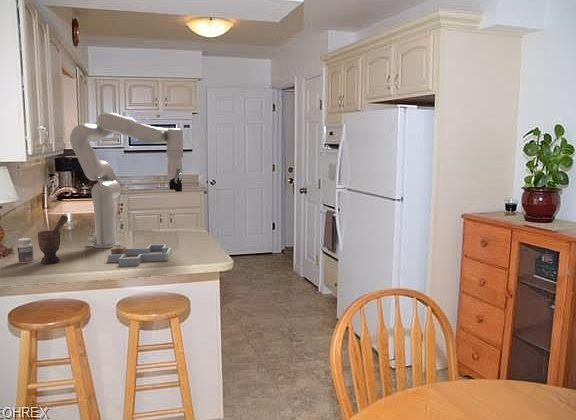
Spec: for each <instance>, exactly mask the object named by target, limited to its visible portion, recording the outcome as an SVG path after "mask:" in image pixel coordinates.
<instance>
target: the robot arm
mask: <svg viewBox="0 0 576 420" xmlns="http://www.w3.org/2000/svg"><path fill="white" fill-rule="evenodd" d="M115 133H116V134H119V135H123V136H126V137H128V138H132V139H136V140H138V141H141V142H145V143H150V144H154V145H156V144H166V158H167V166H166V167H167V168H166V169H167V171H166V172H167V173H166V176H167V178H168V181H169V183H168V185H169V190H170V191H174V192H176V193H177V192H178V193H179V192H183V161H182V159H183V158H184V139H183V138H184V135H183V133H184V132H183V129H181V128H179V127H178V128H176V127H173V128H172V127H170V128H164V127H157V126H151V125H148V124H143V123H141V122H138V121H137V120H136V119H134V118H131V117H127V116H124V115H120V114H118V113H116V112H109V111H105V112H102V113H100V114H99V115H98V117H97V121H96V122H95V123H85V122H84V123H80V124H77V125H76V126H74V127H73V129H72V130H71V133H70V135H69V136H70V137H69V140H70V141H69V142H70V145H71V149H72V150H73V152H74V154H75V156H76V158H77V160H78V163H79V164H80V167H81V168H82V171H83V173H84V175H85V177H86V178H87V179H88V180H90V181H97V182H96V183H95V184H94V185H93V186H92V189H91V190H90V191H91V192H90V193H91V199H92V205H93V211H94V213H93V214H94V227H95V228H94V232H95V237H87V238H86V243H92V247H93V248H95V249H109V248H110V249H112V248H113V247H115V246H121V243H120V241H117V224H116V223H117V222H116V208H115V203H114V199H117V198H119V196H120V195H121V192H122V187H121V184H120V182H119V179H118V178H117V175H116V173H115V171H114V169H113V166H111V164H110V163H109V162H107V161H105V160H101V159H99V158H98V156H97V154H96V151H95V149H94V147H92V145H91V143H90V142H99V141H102V140H103V139H106V138H107V137H108V136H111V135H112V134H115Z"/></svg>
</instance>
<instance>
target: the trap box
mask: <svg viewBox="0 0 576 420" xmlns="http://www.w3.org/2000/svg"><path fill="white" fill-rule="evenodd" d="M172 253H173V251H172V247H170V246H169V247H168V244H148V245H147V247H134V248H133V247H132V248H130V247H129V248H126V256H136V257H126V258H125V254H121V255H111V254H108V255H107V261H108V263H118V267H129V266H134V267H135V266H140V265H141V264H142V262H164V261H165V262H168V261H169V260H170V257H171V256H172Z"/></svg>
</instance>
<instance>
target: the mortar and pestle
mask: <svg viewBox="0 0 576 420" xmlns="http://www.w3.org/2000/svg"><path fill="white" fill-rule="evenodd" d="M68 219H69V217H68V216H67V215H64V214H63V215H61V216H60V218H59V219H58V221H57V223H56V226H55V227H54V228H53V229H52V230H51V229H50V230H42V231H38V232H37V241H38V243H37V244H38V247H39V249H40V251H41V252H42V253H43V257H42V258H41V260H40V264H42V265H43V264H44V265H50V264H56V263H59V262H61V260H60V257H59V256H58V255H57V252H58V251H59V249H60V245H61V231H60V230H61V229H62V228H63V226H64V225H65V224H66V223H67V221H68Z"/></svg>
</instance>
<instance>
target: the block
mask: <svg viewBox="0 0 576 420" xmlns="http://www.w3.org/2000/svg"><path fill="white" fill-rule="evenodd" d="M126 249H127V248H126V245H123V246H121V245H119V246H115V247H111V248H110V252H111V254H110V255H121V254H125V257H126V258H127V255H126Z"/></svg>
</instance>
